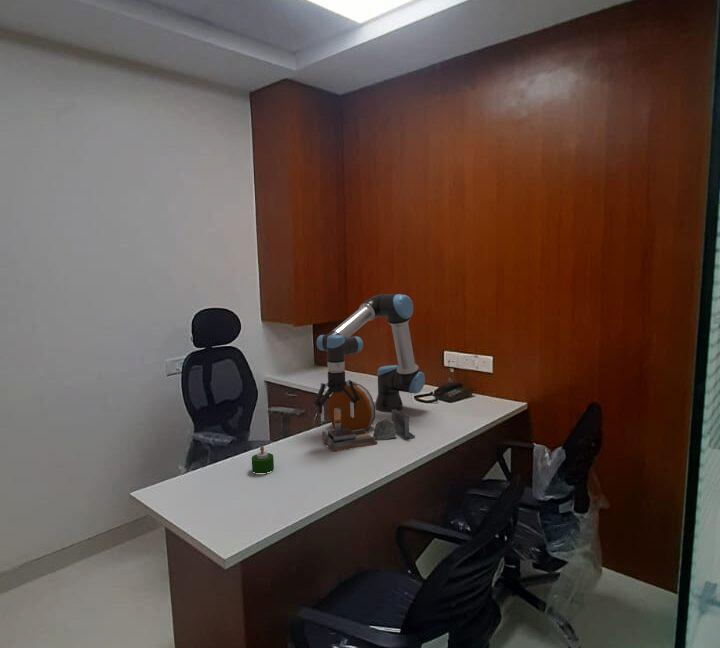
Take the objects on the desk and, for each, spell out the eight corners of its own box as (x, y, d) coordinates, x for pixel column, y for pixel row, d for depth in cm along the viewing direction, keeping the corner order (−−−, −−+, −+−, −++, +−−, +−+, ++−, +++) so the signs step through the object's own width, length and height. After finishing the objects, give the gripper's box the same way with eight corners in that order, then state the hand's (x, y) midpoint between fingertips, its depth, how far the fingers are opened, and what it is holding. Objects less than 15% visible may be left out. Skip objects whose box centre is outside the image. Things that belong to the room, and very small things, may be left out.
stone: (385, 418, 215) (388, 411, 225) (368, 432, 218) (372, 424, 228) (399, 435, 215) (401, 427, 225) (382, 448, 218) (385, 439, 227)
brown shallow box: (322, 440, 219) (321, 431, 218) (365, 434, 226) (365, 425, 225) (331, 451, 206) (331, 442, 205) (377, 444, 213) (377, 434, 212)
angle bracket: (392, 430, 231) (391, 409, 229) (401, 428, 232) (401, 408, 231) (405, 439, 218) (404, 418, 216) (415, 437, 219) (414, 416, 218)
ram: (328, 439, 216) (327, 407, 215) (349, 435, 220) (348, 404, 218) (333, 445, 209) (332, 412, 207) (355, 441, 212) (354, 409, 210)
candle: (263, 476, 183) (262, 451, 182) (247, 472, 187) (246, 447, 186) (278, 468, 190) (277, 444, 189) (262, 464, 194) (261, 440, 193)
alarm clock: (377, 426, 236) (376, 381, 233) (369, 433, 227) (368, 385, 225) (337, 421, 245) (336, 377, 243) (328, 427, 237) (326, 382, 234)
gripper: (310, 375, 202) (312, 424, 205) (366, 369, 211) (367, 417, 213) (306, 371, 209) (307, 419, 212) (360, 366, 218) (361, 412, 220)
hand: (337, 418), depth 212 cm, fingers open, 13 cm apart
